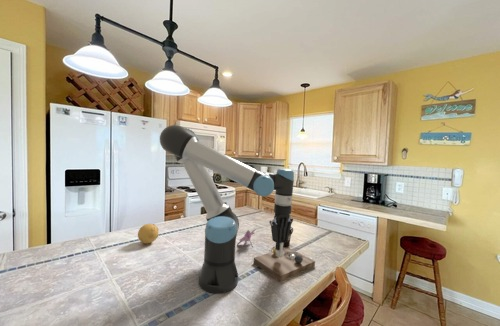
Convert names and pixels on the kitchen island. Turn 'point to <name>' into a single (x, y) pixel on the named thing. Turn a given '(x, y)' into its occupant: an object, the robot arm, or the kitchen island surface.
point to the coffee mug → (288, 238)
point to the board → (283, 264)
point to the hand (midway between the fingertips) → (278, 256)
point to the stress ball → (148, 233)
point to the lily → (247, 237)
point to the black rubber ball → (298, 259)
